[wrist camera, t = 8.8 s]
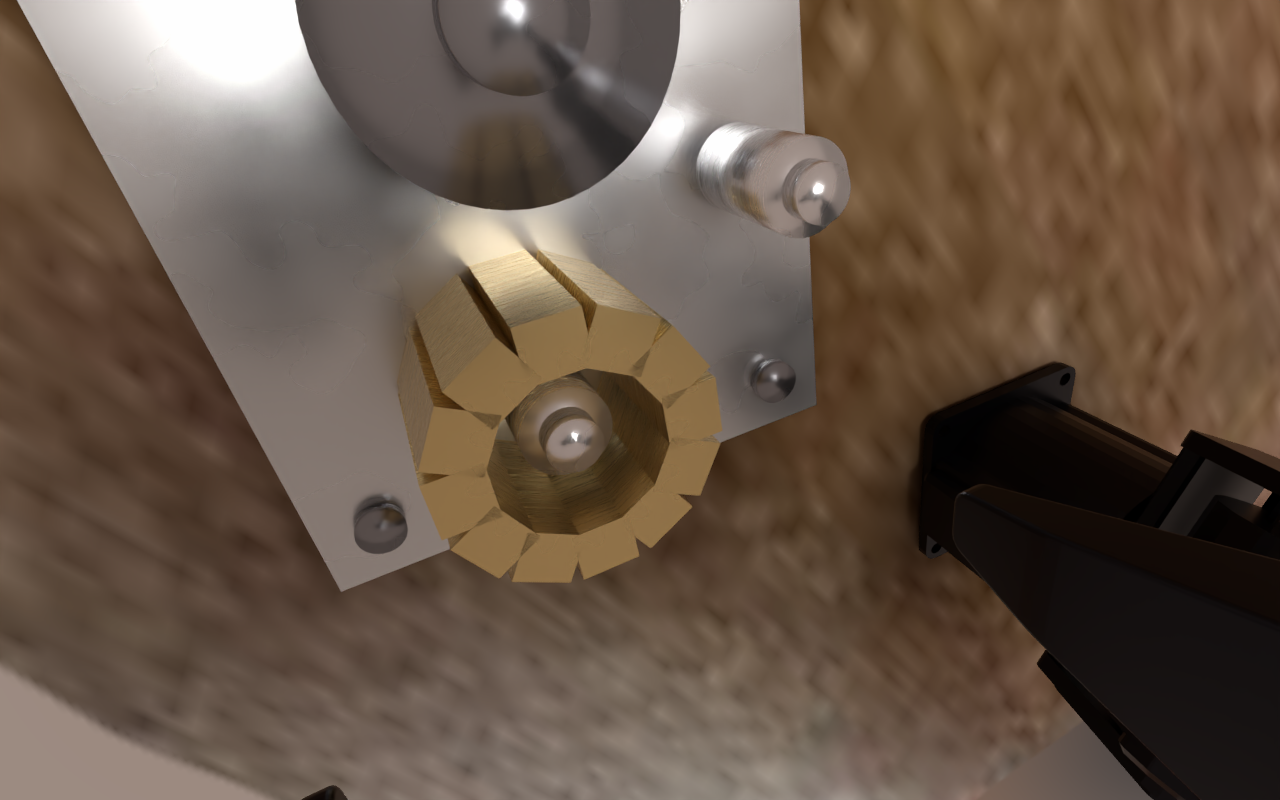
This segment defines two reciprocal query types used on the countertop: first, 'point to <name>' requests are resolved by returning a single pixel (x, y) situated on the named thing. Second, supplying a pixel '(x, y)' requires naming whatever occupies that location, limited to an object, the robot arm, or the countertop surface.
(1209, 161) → the countertop surface
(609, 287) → the planet gear
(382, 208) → the carrier plate
